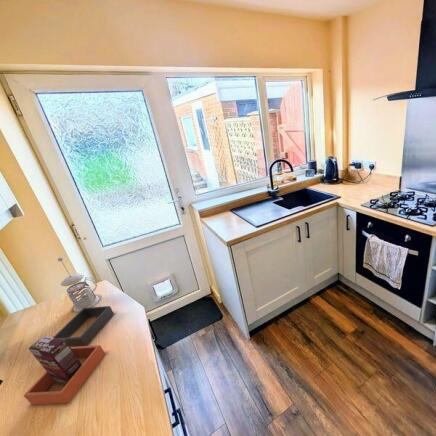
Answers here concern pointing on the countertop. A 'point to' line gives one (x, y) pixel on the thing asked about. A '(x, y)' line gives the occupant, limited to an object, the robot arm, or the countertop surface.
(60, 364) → the supplement box
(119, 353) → the countertop surface
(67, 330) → the right crate
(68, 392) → the left crate
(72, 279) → the french press
